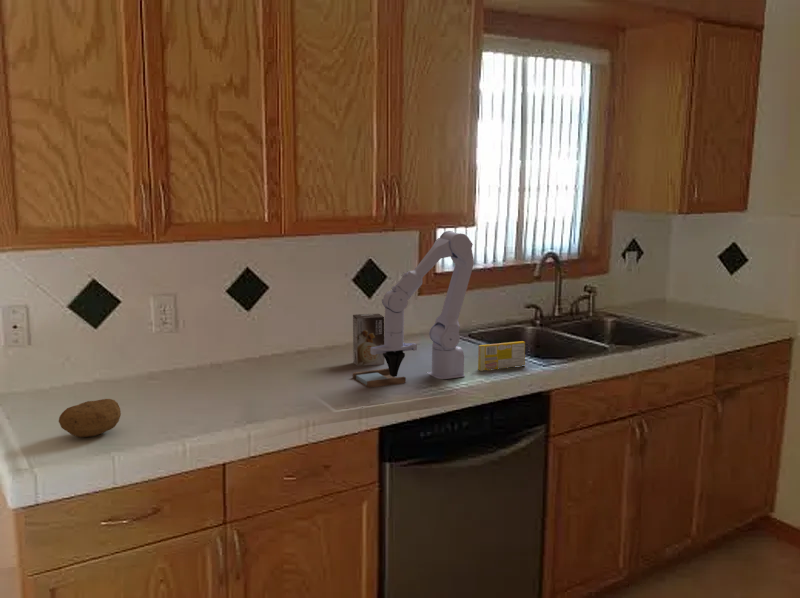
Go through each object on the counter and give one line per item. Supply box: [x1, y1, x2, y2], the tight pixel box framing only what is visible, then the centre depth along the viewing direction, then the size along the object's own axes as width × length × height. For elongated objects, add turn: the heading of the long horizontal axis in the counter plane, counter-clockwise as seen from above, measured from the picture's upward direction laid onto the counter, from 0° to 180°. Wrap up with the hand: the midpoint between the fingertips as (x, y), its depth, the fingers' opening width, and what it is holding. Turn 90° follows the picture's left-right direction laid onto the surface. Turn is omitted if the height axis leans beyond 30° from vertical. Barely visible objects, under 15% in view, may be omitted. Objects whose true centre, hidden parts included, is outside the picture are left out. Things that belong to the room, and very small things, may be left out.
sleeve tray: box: [352, 367, 407, 389], centre depth 231 cm, size 12×11×2 cm
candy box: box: [477, 340, 526, 372], centre depth 248 cm, size 16×2×8 cm, turn 112°
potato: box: [58, 398, 122, 438], centre depth 183 cm, size 10×14×8 cm
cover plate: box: [356, 373, 388, 386], centre depth 230 cm, size 7×8×1 cm
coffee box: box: [352, 313, 385, 367], centre depth 250 cm, size 9×6×16 cm
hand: (393, 375), depth 233 cm, fingers closed
